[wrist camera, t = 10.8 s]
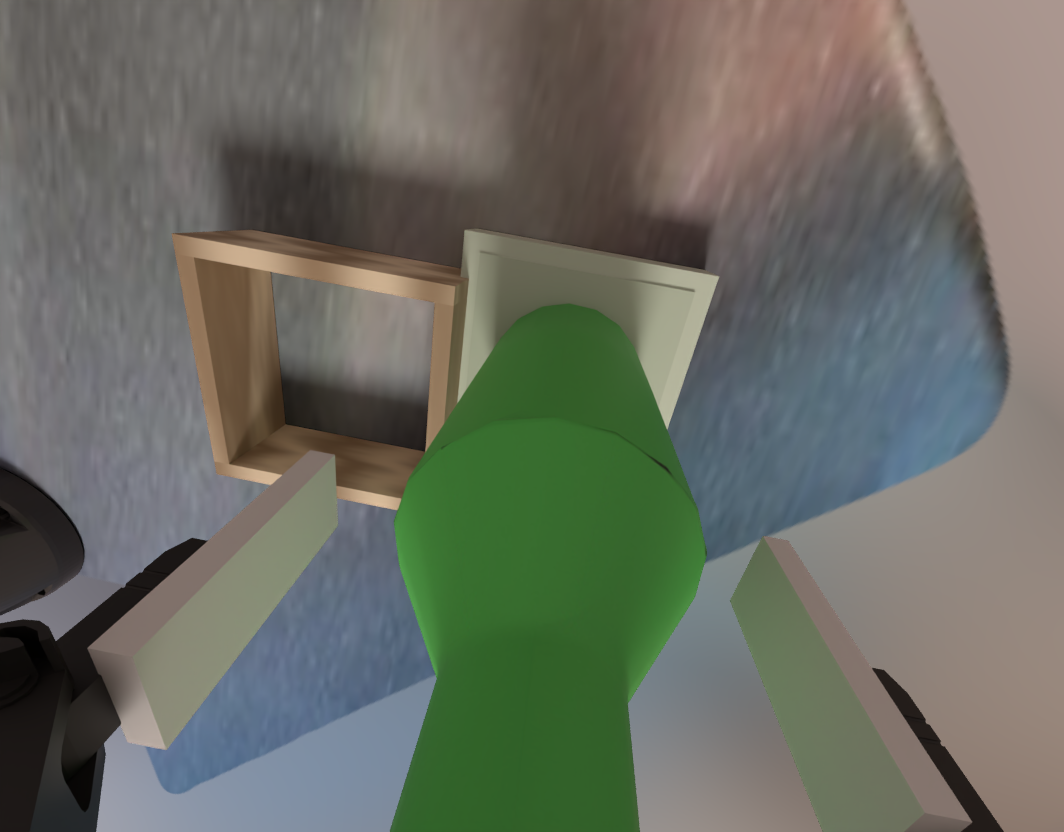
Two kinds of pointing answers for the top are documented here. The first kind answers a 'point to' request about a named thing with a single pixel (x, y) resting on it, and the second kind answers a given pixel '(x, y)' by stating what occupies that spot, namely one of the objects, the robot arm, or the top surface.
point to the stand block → (584, 301)
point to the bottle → (543, 581)
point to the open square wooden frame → (253, 359)
